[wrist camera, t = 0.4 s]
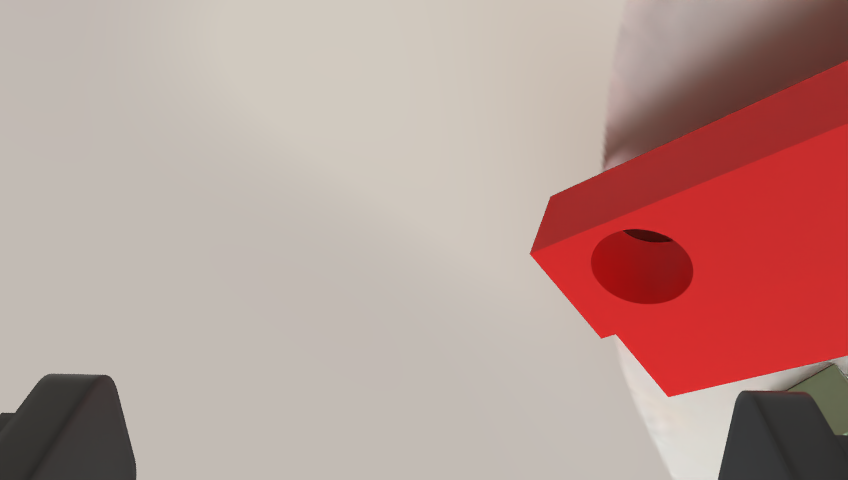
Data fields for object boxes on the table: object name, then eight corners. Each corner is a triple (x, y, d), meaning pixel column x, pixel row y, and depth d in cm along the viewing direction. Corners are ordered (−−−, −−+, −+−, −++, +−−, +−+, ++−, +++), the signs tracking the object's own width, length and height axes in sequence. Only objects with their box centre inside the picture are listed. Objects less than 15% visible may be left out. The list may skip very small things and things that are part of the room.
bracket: (1206, 297, 23) (1109, 120, 30) (1085, 25, 20) (1008, -103, 27) (665, 414, 35) (687, 265, 42) (529, 253, 31) (578, 121, 38)
